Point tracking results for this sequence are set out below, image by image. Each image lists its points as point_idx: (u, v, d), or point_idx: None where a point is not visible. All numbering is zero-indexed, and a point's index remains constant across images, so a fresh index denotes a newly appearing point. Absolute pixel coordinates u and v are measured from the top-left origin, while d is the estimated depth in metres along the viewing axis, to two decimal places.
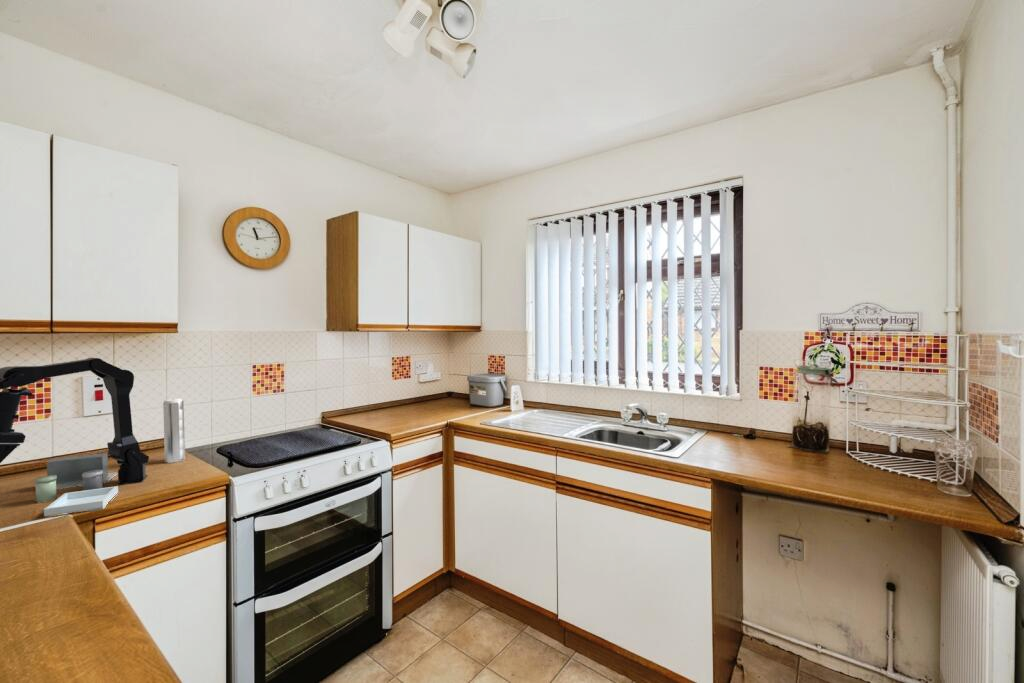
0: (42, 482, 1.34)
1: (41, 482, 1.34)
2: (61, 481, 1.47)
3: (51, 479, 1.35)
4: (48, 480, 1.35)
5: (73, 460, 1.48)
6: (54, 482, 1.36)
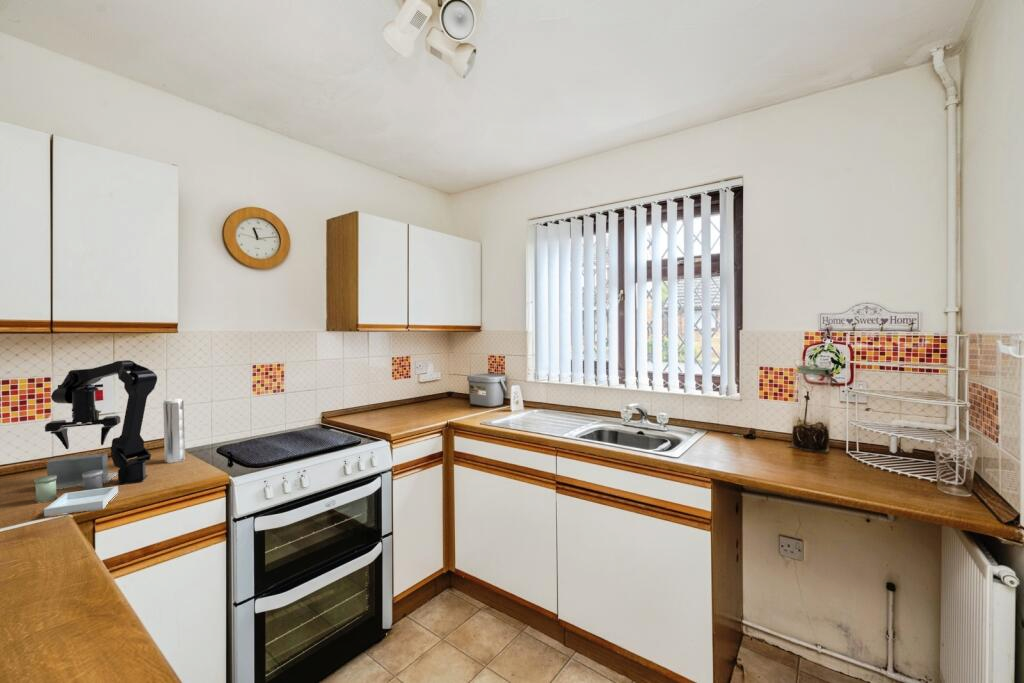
0: (42, 482, 1.34)
1: (41, 482, 1.34)
2: (61, 481, 1.47)
3: (51, 479, 1.35)
4: (48, 480, 1.35)
5: (73, 460, 1.48)
6: (54, 482, 1.36)
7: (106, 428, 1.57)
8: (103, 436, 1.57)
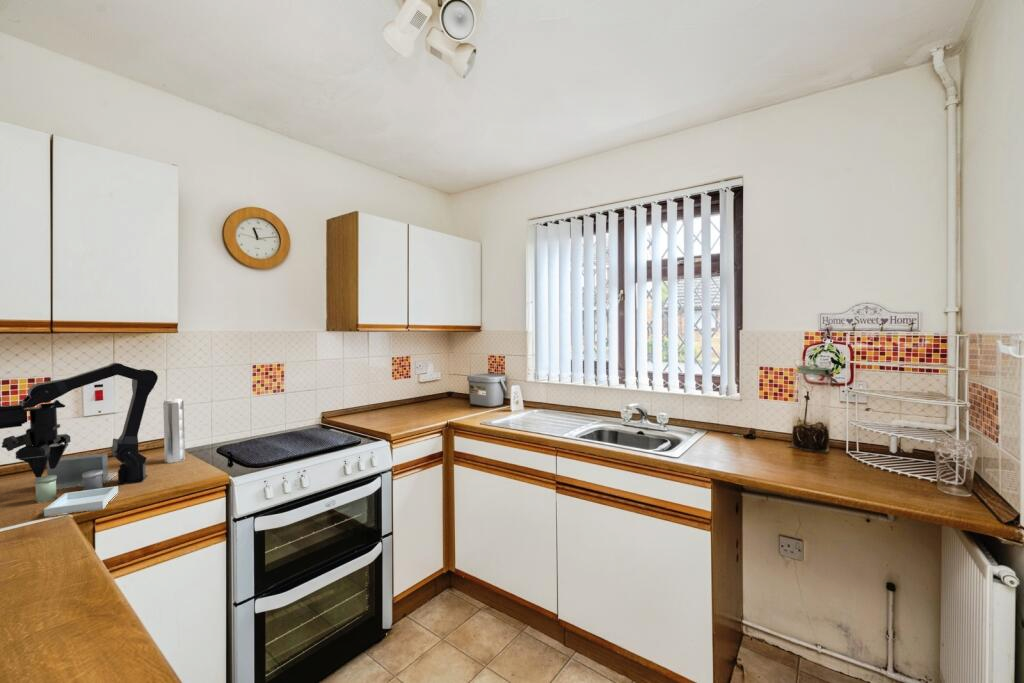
0: (42, 482, 1.34)
1: (41, 482, 1.34)
2: (61, 481, 1.47)
3: (51, 479, 1.35)
4: (48, 480, 1.35)
5: (73, 460, 1.48)
6: (54, 482, 1.36)
7: (66, 446, 1.43)
8: None
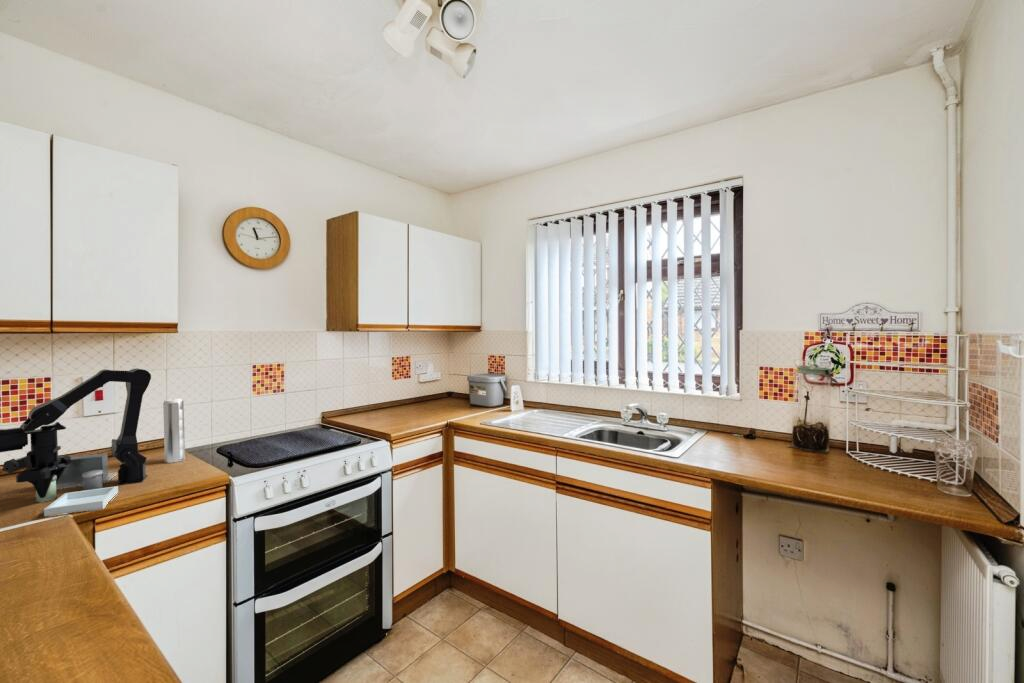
0: None
1: None
2: (61, 481, 1.47)
3: None
4: None
5: (73, 460, 1.48)
6: (54, 482, 1.36)
7: None
8: None
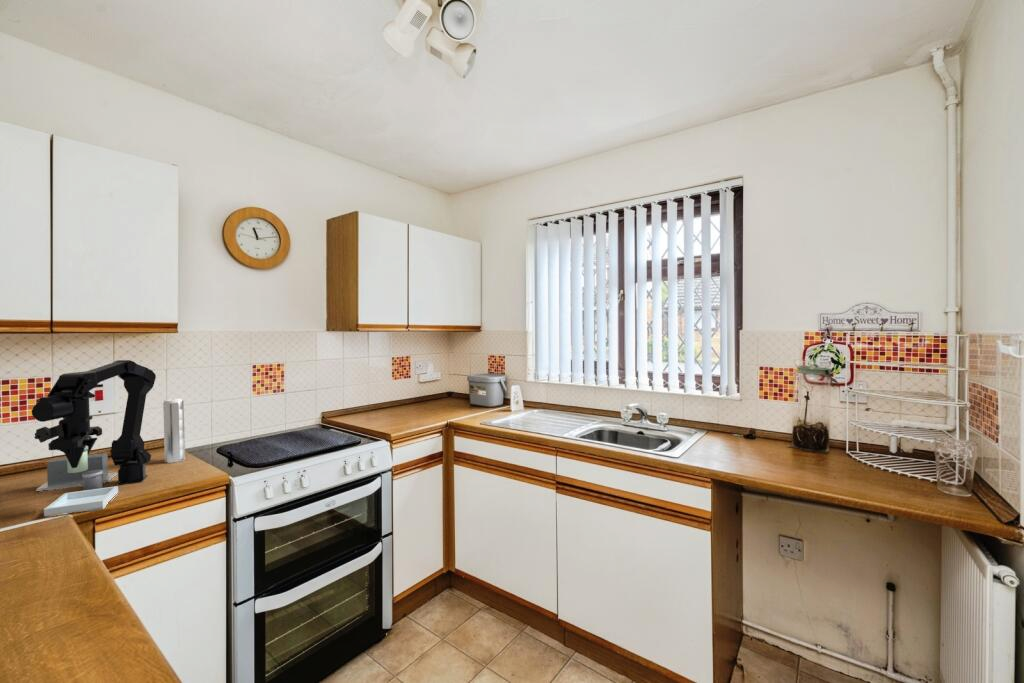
0: None
1: None
2: (61, 481, 1.47)
3: None
4: None
5: None
6: (85, 452, 1.32)
7: (95, 440, 1.37)
8: (89, 450, 1.35)
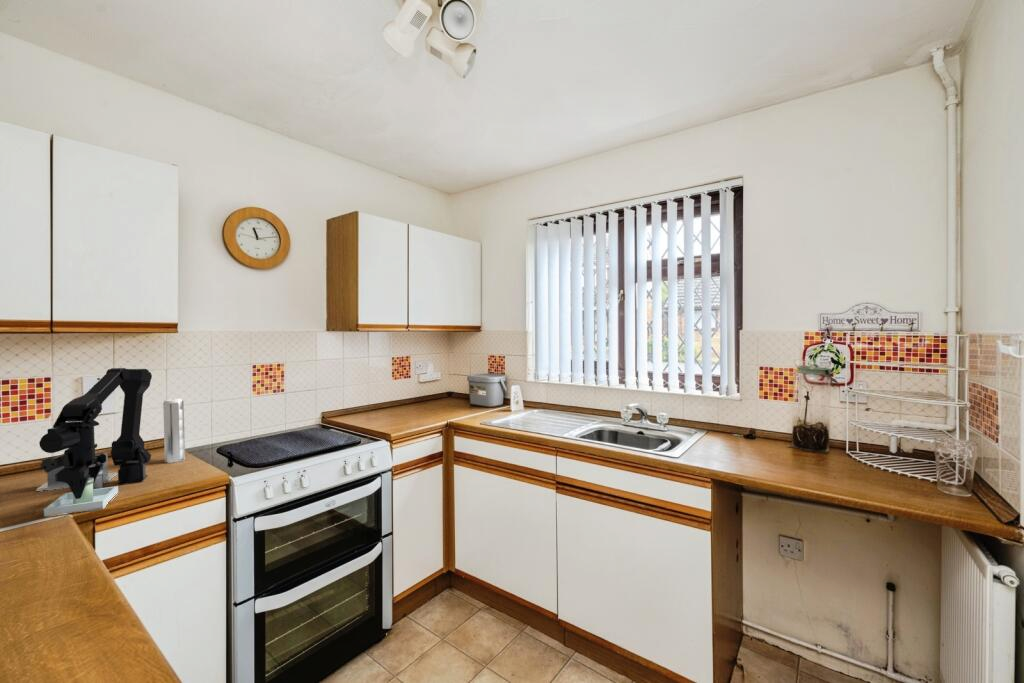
0: None
1: None
2: None
3: (88, 482, 1.31)
4: None
5: None
6: (91, 485, 1.32)
7: (101, 466, 1.38)
8: (96, 477, 1.37)
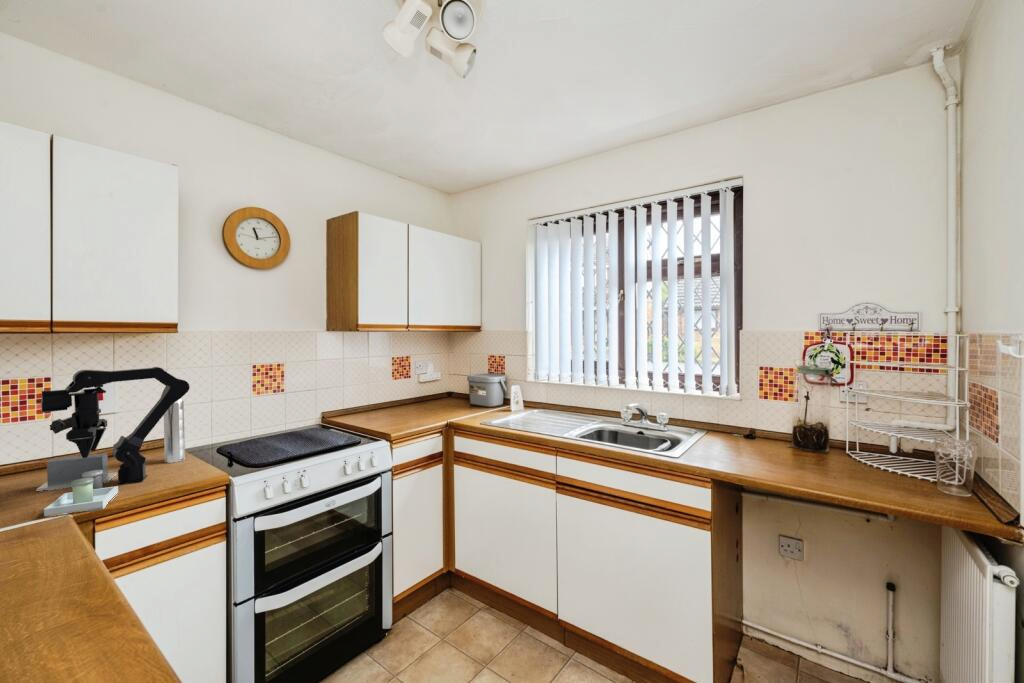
0: (79, 485, 1.30)
1: (78, 485, 1.30)
2: (61, 481, 1.47)
3: (88, 481, 1.31)
4: (85, 483, 1.31)
5: (73, 460, 1.48)
6: (91, 485, 1.32)
7: (105, 429, 1.51)
8: (100, 439, 1.50)
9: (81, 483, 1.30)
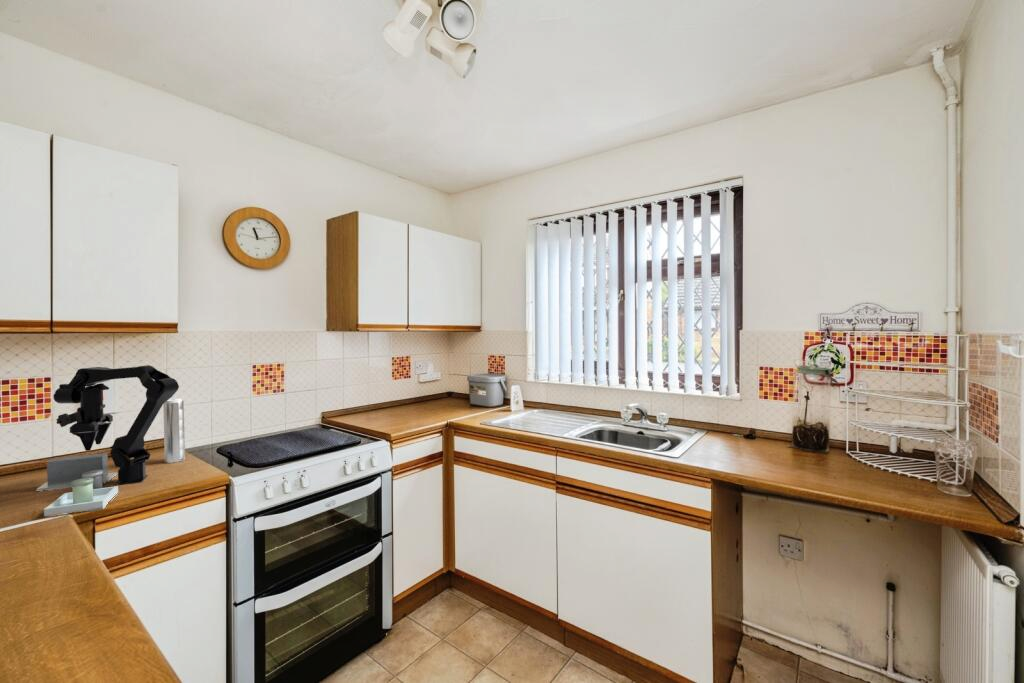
0: (79, 485, 1.30)
1: (78, 485, 1.30)
2: (61, 481, 1.47)
3: (88, 481, 1.31)
4: (85, 483, 1.31)
5: (73, 460, 1.48)
6: (91, 485, 1.32)
7: None
8: (105, 433, 1.58)
9: (81, 483, 1.30)
